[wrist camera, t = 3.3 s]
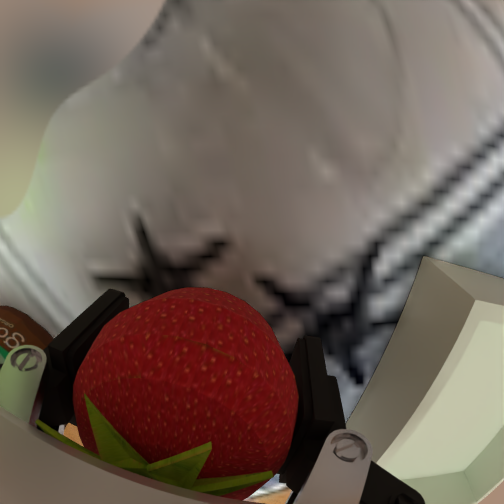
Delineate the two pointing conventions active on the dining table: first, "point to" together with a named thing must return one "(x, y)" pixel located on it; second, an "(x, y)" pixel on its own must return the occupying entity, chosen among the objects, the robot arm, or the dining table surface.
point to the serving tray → (441, 388)
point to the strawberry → (187, 394)
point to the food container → (20, 332)
